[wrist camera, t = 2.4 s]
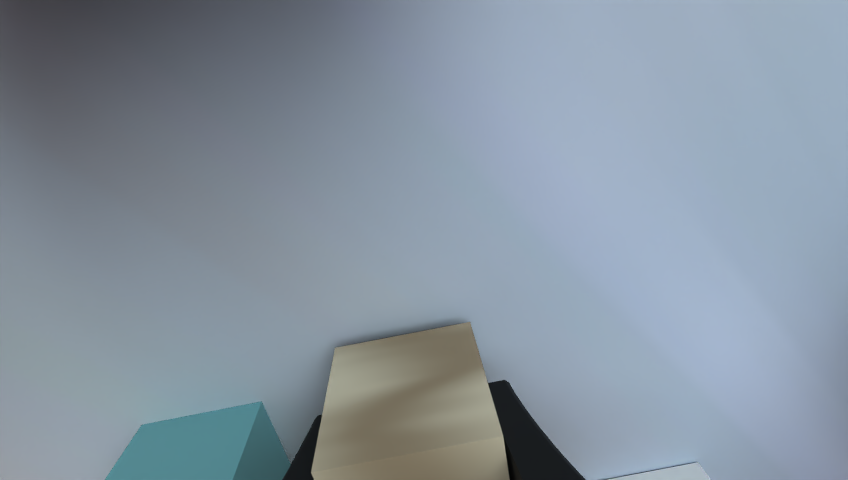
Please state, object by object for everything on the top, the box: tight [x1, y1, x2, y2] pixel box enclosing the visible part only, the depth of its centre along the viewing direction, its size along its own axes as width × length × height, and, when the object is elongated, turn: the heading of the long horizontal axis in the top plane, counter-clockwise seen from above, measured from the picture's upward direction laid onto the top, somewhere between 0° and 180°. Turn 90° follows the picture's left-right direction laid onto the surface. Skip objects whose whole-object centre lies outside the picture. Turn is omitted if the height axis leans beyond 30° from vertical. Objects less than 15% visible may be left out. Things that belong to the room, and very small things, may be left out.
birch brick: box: [311, 322, 509, 480], centre depth 11 cm, size 4×4×4 cm
